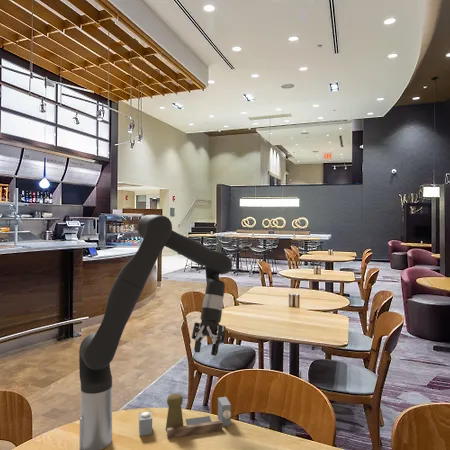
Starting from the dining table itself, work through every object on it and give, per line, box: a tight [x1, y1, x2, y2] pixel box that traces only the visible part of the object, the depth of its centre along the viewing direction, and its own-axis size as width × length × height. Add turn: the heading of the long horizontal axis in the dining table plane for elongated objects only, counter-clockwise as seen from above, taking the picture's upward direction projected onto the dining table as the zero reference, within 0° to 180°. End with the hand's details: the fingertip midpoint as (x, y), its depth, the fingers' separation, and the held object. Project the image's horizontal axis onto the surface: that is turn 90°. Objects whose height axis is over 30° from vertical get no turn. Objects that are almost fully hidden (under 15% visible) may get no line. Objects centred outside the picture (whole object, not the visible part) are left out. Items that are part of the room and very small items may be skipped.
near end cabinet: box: [138, 410, 153, 437], centre depth 121 cm, size 4×5×6 cm
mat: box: [185, 415, 213, 425], centre depth 125 cm, size 8×8×1 cm
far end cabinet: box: [217, 396, 232, 427], centre depth 126 cm, size 3×7×7 cm, turn 15°
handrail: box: [166, 420, 224, 439], centre depth 120 cm, size 18×2×2 cm, turn 105°
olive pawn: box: [165, 393, 185, 432], centre depth 122 cm, size 6×6×11 cm
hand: (205, 353), depth 132 cm, fingers open, 8 cm apart
